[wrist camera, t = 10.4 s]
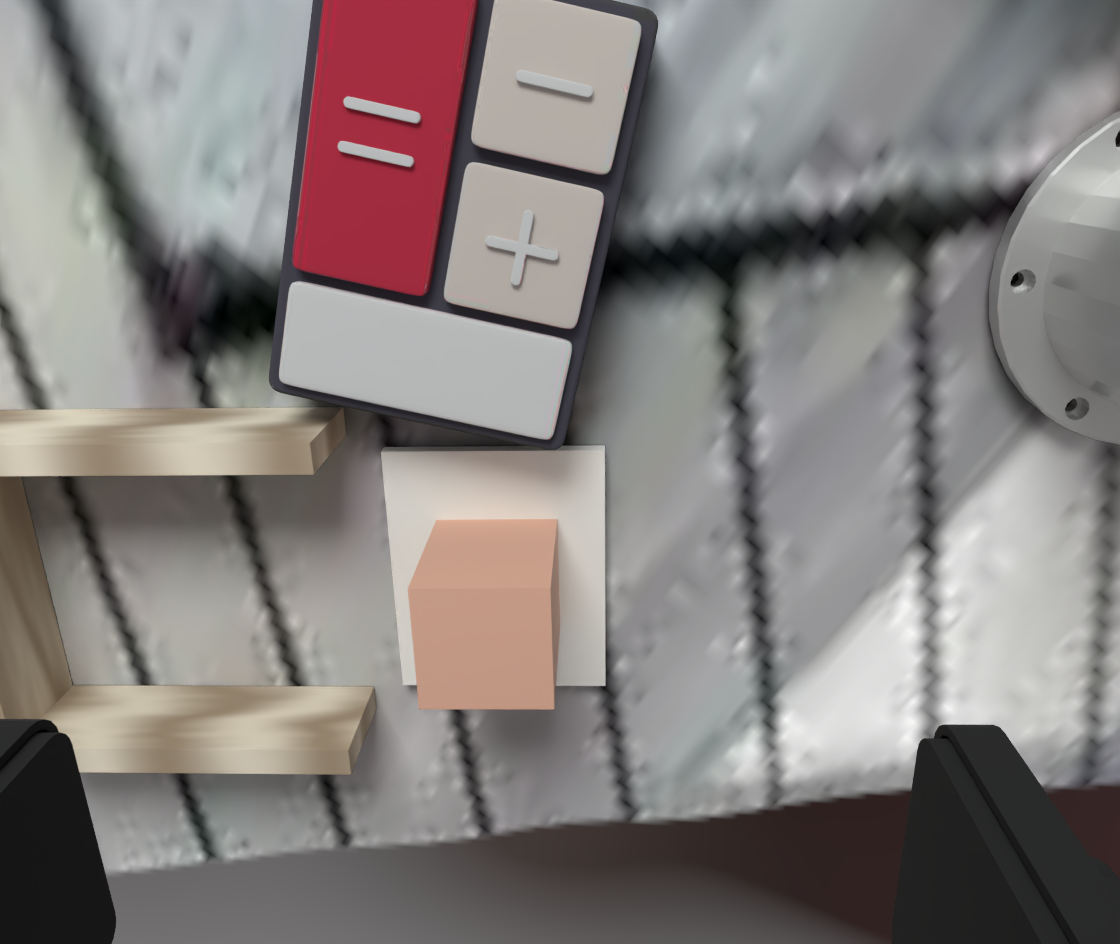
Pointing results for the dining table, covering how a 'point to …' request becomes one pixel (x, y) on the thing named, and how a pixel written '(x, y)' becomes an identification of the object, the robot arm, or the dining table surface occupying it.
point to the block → (487, 615)
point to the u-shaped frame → (161, 711)
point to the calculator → (456, 206)
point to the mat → (507, 493)
